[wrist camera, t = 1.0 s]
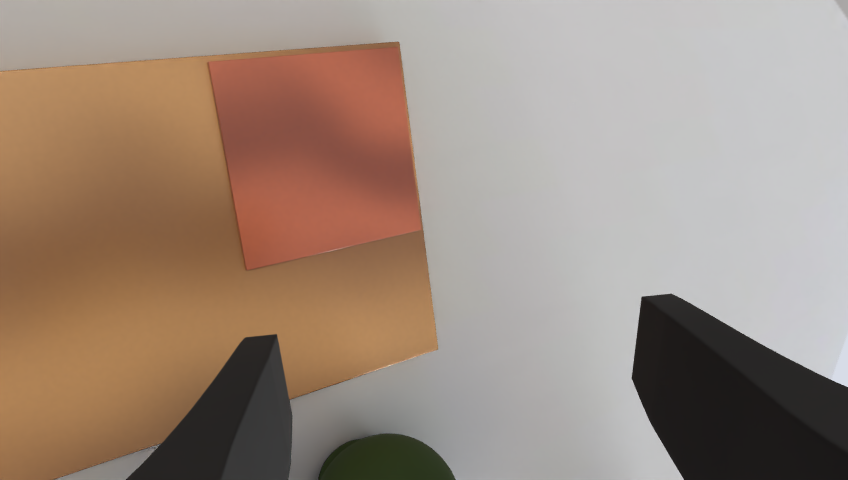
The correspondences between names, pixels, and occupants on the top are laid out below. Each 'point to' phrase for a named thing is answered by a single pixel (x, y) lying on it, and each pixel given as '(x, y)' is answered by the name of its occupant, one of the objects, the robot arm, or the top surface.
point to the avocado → (385, 460)
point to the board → (198, 239)
